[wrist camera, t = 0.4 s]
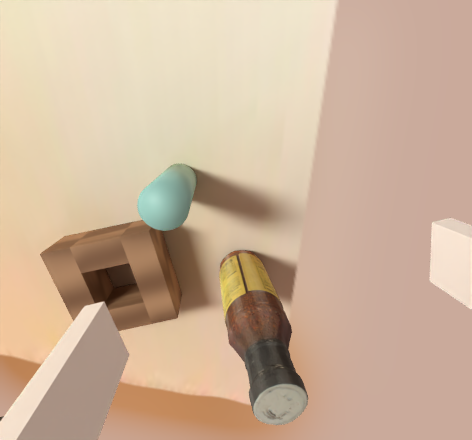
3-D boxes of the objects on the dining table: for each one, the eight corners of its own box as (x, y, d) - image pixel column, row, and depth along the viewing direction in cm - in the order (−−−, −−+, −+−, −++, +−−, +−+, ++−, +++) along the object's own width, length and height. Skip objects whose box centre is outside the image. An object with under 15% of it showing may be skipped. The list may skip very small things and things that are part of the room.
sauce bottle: (224, 290, 38) (237, 449, 19) (214, 252, 35) (218, 389, 17) (267, 280, 38) (323, 427, 19) (260, 242, 36) (316, 365, 17)
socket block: (64, 236, 33) (39, 254, 28) (157, 216, 33) (148, 231, 28) (98, 312, 37) (82, 338, 32) (181, 294, 37) (177, 318, 32)
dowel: (159, 167, 31) (130, 187, 20) (192, 160, 31) (181, 177, 20) (168, 198, 32) (146, 235, 21) (200, 192, 33) (194, 224, 21)
